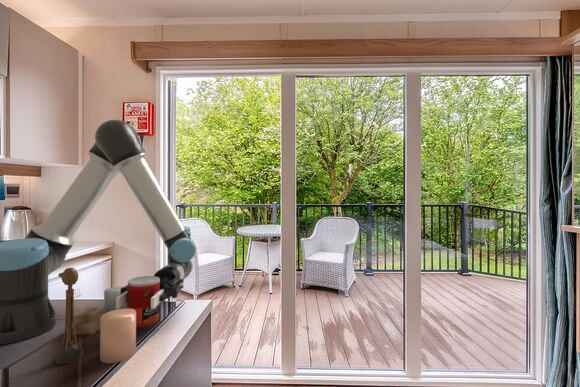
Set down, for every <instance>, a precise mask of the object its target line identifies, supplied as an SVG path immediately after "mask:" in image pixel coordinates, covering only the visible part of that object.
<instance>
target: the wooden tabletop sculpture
mask: <svg viewBox="0 0 580 387" xmlns="http://www.w3.org/2000/svg"><path fill="white" fill-rule="evenodd" d="M78 272H79V271H77V269H76V268H74V267H67V268H65V269H64V270H63V272H59V273H58V275H57V276H58V278H61V282H62V283H63V285H64V286H67V289H65V320H64V321H65V322H64V331H63V338H62V344H61V347H60V348H59V350H58V352H57V354H56V356H55V357H56V358H55V363H56V364H57V365H69V364H72V363H75V362H77V361H78V360H80V359H81V358H83V356H84V349H83V346H82V345H81V344H80V343H78V341H77V334H75V326H74V314H75V311H74V310H75V288H73V286H74V285H75V284H76V283H77V282H78V279H79V273H78ZM65 341H66V342H65Z"/></svg>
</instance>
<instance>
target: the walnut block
mask: <svg viewBox="0 0 580 387" xmlns="http://www.w3.org/2000/svg"><path fill="white" fill-rule="evenodd" d="M103 314H104V306H103V307H85V308H83V309H81V310H79V311H78V312H76V313H74V326H75V334H76V335H94V334H95V333H96V332H97V331H100V317H101V316H102V315H103Z"/></svg>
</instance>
